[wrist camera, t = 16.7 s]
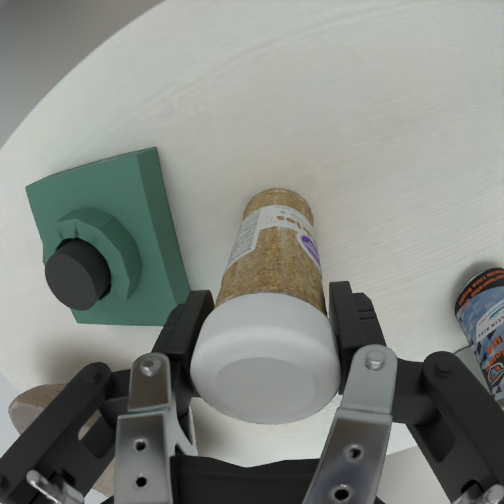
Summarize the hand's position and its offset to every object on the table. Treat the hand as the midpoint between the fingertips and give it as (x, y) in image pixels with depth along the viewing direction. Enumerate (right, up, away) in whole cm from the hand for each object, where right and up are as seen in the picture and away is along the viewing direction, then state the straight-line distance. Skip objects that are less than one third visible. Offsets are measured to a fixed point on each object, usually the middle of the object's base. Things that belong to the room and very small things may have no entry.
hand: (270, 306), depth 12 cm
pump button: (-11, +1, +6) cm, 13 cm away
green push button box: (-11, +3, +10) cm, 15 cm away
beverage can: (+19, -2, +10) cm, 21 cm away
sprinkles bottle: (+1, +4, +8) cm, 10 cm away
